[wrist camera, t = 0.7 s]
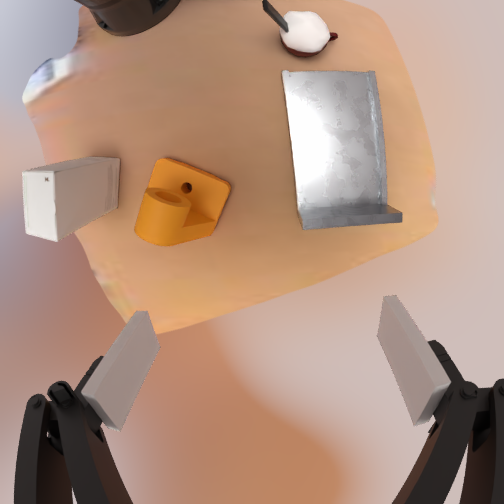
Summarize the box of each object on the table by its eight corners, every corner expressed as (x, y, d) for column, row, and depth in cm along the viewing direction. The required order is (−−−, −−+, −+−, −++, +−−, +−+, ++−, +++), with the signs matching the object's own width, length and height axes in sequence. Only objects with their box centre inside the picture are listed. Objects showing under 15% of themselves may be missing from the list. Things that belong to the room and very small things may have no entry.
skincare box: (91, 155, 36) (20, 167, 22) (123, 157, 36) (54, 168, 22) (88, 205, 39) (23, 234, 25) (120, 211, 39) (56, 243, 25)
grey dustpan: (281, 74, 31) (283, 58, 24) (369, 74, 29) (388, 61, 23) (297, 215, 38) (303, 229, 31) (382, 209, 36) (402, 222, 30)
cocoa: (334, 37, 28) (361, -1, 17) (324, 71, 30) (352, 38, 19) (269, 18, 28) (274, -28, 16) (257, 51, 30) (257, 10, 18)
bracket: (234, 183, 37) (217, 198, 26) (214, 229, 39) (191, 262, 28) (165, 155, 36) (123, 160, 25) (149, 201, 39) (107, 222, 27)
